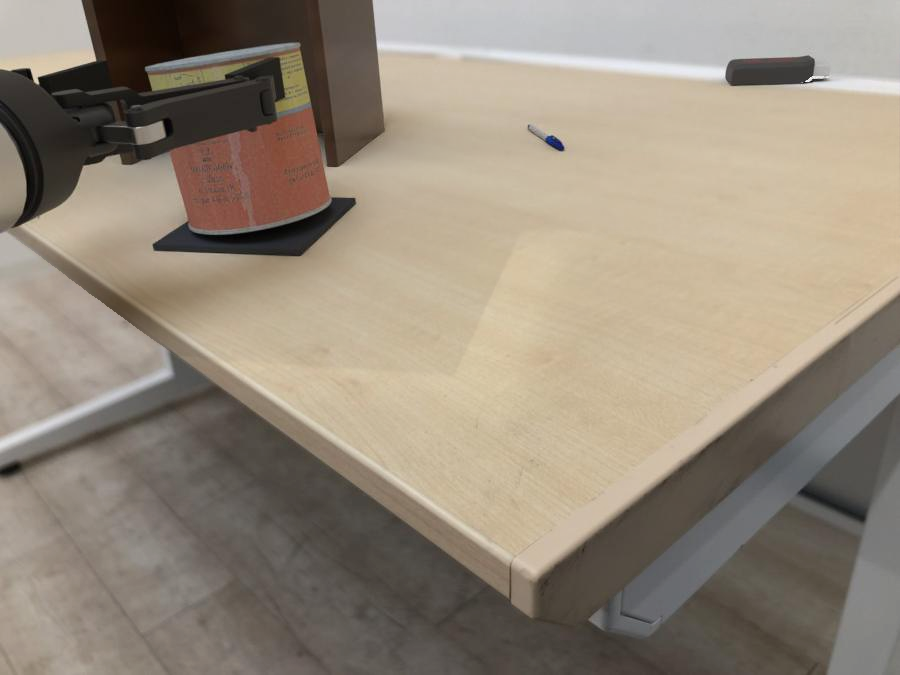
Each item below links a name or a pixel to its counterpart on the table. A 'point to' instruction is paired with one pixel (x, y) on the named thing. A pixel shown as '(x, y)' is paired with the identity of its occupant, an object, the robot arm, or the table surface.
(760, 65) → the usb drive
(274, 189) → the canned food
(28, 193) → the robot arm
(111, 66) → the cubby
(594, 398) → the table surface
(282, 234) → the mat
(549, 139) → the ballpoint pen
